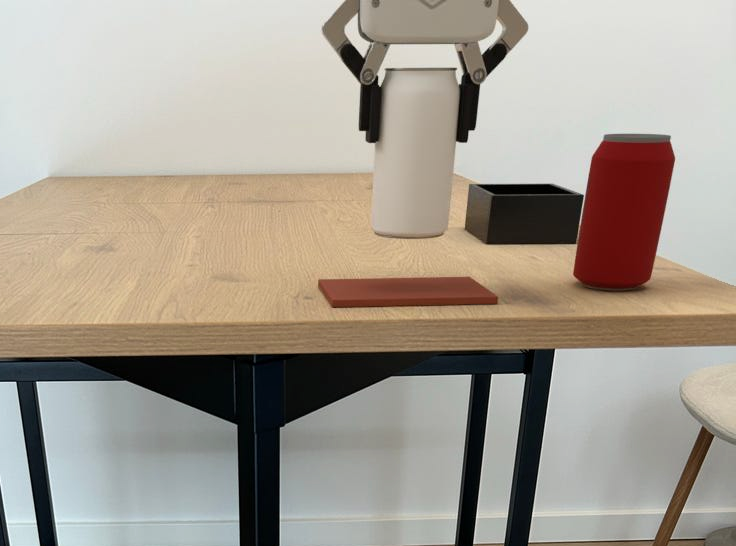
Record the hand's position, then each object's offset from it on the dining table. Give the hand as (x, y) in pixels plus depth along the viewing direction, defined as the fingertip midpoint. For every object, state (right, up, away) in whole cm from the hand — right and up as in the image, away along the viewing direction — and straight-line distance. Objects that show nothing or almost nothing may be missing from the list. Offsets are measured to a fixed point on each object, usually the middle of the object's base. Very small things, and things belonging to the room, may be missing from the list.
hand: (415, 139), depth 75 cm
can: (0, -6, +4) cm, 7 cm away
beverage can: (+19, -8, +9) cm, 23 cm away
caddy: (+18, +7, +35) cm, 40 cm away
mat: (0, -10, +6) cm, 12 cm away
